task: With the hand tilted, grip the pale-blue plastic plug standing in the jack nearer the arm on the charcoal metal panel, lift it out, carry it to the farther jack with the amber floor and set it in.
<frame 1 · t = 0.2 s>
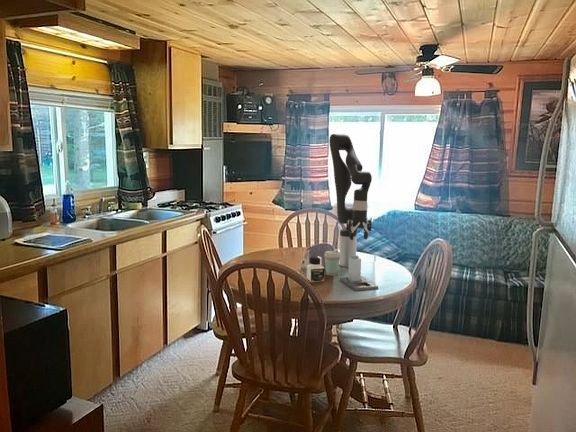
hand: (358, 239, 255), 18 cm above the table, tool pointing down, fingers open, 8 cm apart
panel: (358, 284, 234), on the table
coffee cup: (331, 274, 252), on the table
medicine bottle: (315, 280, 242), on the table
plug: (354, 281, 238), resting on panel
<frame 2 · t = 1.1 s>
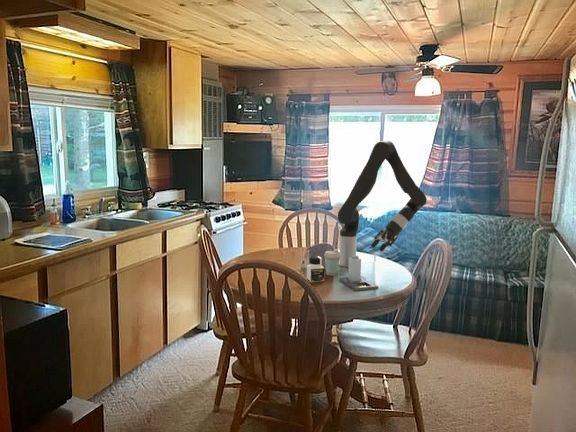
hand: (376, 248, 239), 16 cm above the table, tool tilted 45°, fingers open, 8 cm apart
nothing on the table moved.
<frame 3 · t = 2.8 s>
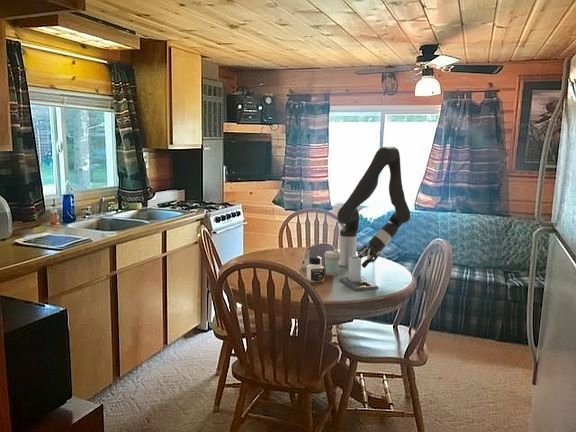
hand: (358, 264, 237), 9 cm above the table, tool tilted 45°, fingers open, 8 cm apart
nothing on the table moved.
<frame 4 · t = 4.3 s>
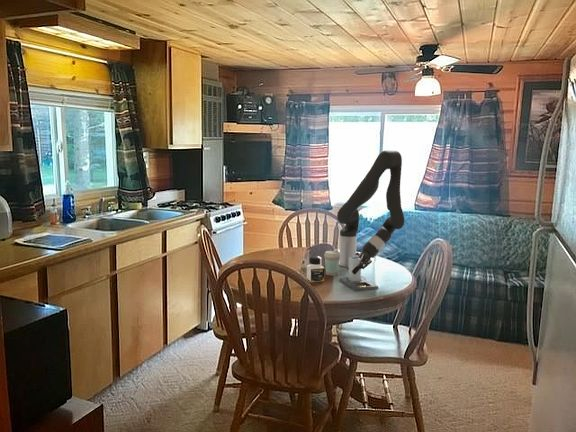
hand: (351, 271, 237), 6 cm above the table, tool tilted 45°, fingers closed on plug, 4 cm apart
plug: (354, 281, 238), resting on panel, touching gripper
everything else where it was.
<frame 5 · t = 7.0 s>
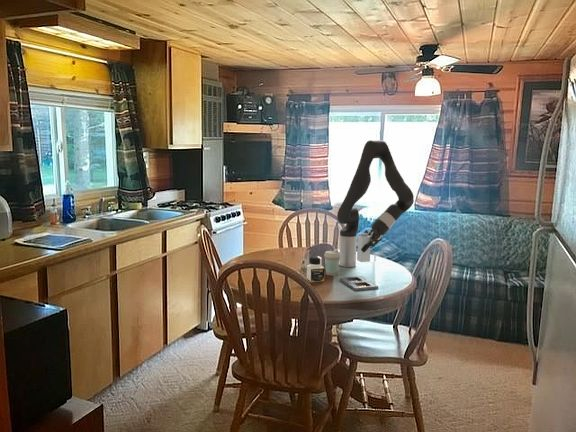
hand: (360, 249, 226), 19 cm above the table, tool tilted 45°, fingers closed on plug, 4 cm apart
plug: (363, 260, 228), point 13 cm above the table, touching gripper
everything else where it was.
when the fingers open (7 cm above the table, at t = 9.5 s): plug stays where it is, resting on panel.
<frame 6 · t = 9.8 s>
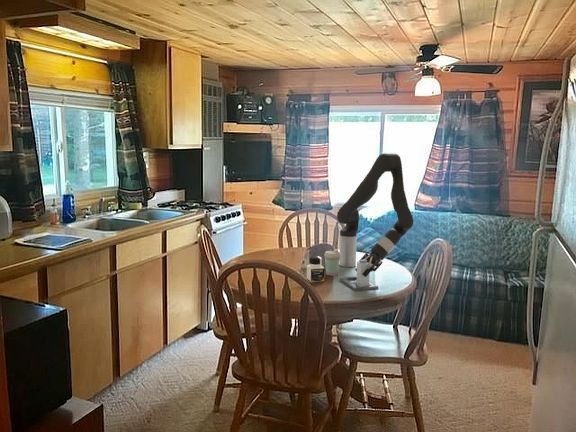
hand: (360, 273, 228), 7 cm above the table, tool tilted 45°, fingers open, 7 cm apart
plug: (362, 287, 230), resting on panel
everything else where it was.
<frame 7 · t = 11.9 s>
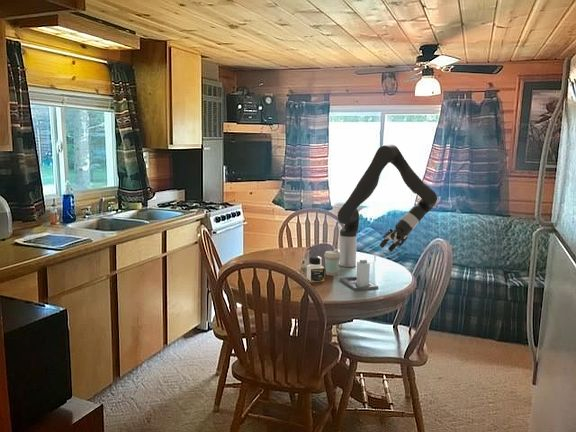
hand: (384, 248, 232), 18 cm above the table, tool tilted 45°, fingers open, 8 cm apart
nothing on the table moved.
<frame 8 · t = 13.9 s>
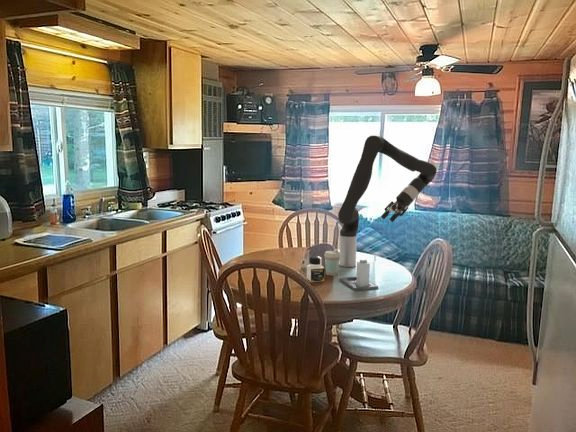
hand: (386, 219, 240), 31 cm above the table, tool tilted 45°, fingers open, 8 cm apart
nothing on the table moved.
at the end: plug 0.1 cm from the target spot on the panel, point 0.2 cm above the panel's base; plug tilted 0°; the gripper is holding nothing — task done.
